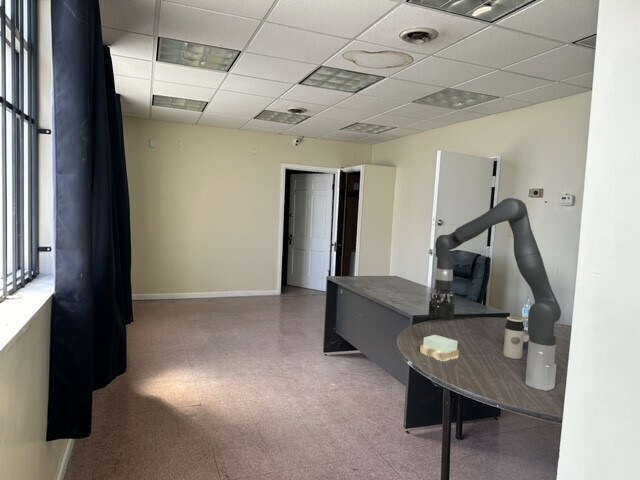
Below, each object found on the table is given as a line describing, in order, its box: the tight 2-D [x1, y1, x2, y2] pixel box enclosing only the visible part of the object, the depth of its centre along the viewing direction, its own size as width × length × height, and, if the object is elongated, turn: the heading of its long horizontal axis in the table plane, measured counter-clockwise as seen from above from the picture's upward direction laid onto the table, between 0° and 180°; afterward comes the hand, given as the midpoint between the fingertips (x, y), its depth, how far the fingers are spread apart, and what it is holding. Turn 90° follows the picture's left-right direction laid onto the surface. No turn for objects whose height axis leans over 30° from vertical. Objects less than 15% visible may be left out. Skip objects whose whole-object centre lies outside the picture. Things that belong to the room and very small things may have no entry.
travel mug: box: [502, 316, 525, 360], centre depth 195 cm, size 8×8×18 cm
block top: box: [422, 334, 458, 353], centre depth 193 cm, size 12×9×4 cm
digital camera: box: [428, 300, 456, 321], centre depth 191 cm, size 10×5×7 cm, turn 48°
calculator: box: [502, 334, 529, 350], centre depth 217 cm, size 11×4×15 cm
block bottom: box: [419, 344, 460, 362], centre depth 193 cm, size 13×11×4 cm
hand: (441, 315), depth 192 cm, fingers closed on digital camera, 5 cm apart
